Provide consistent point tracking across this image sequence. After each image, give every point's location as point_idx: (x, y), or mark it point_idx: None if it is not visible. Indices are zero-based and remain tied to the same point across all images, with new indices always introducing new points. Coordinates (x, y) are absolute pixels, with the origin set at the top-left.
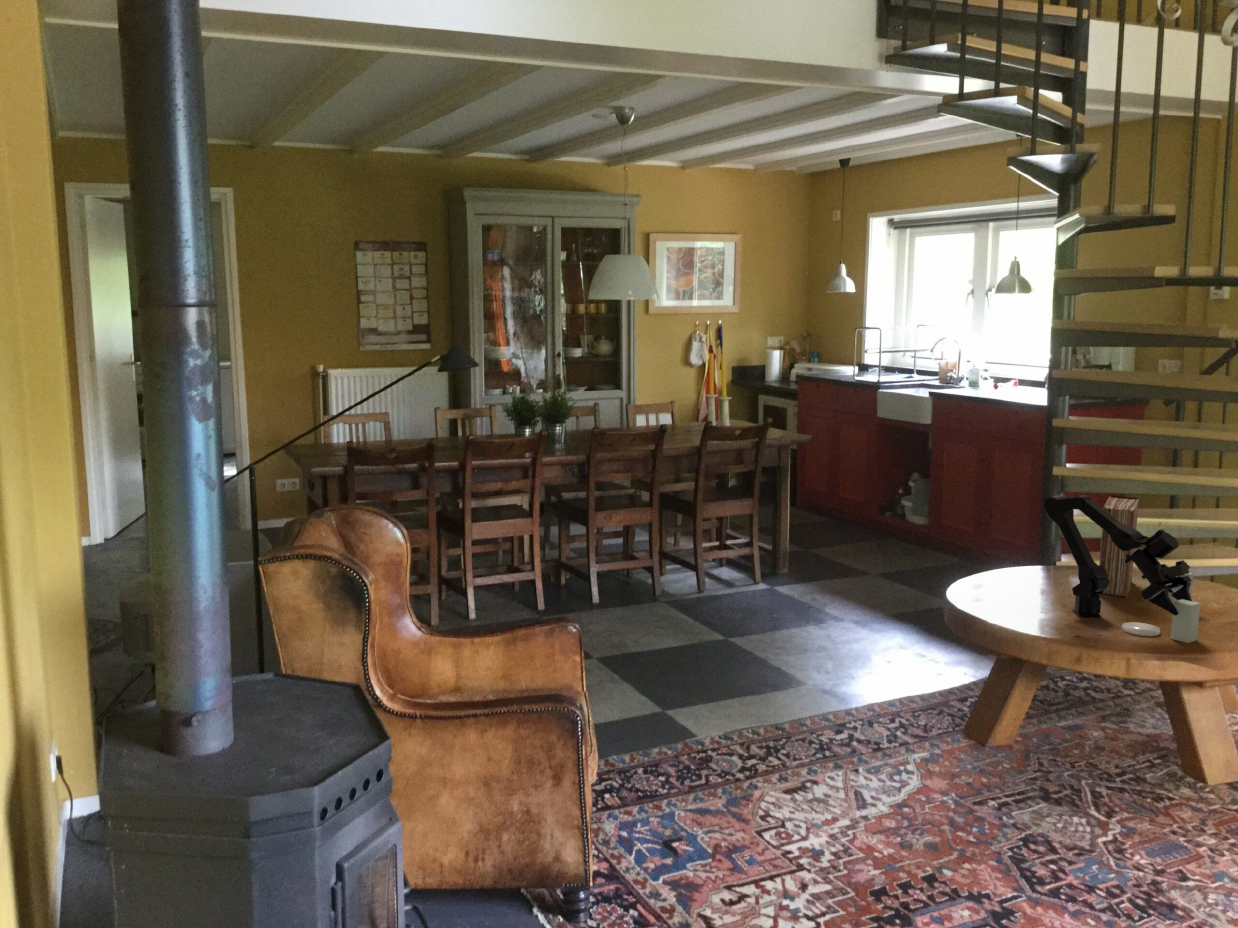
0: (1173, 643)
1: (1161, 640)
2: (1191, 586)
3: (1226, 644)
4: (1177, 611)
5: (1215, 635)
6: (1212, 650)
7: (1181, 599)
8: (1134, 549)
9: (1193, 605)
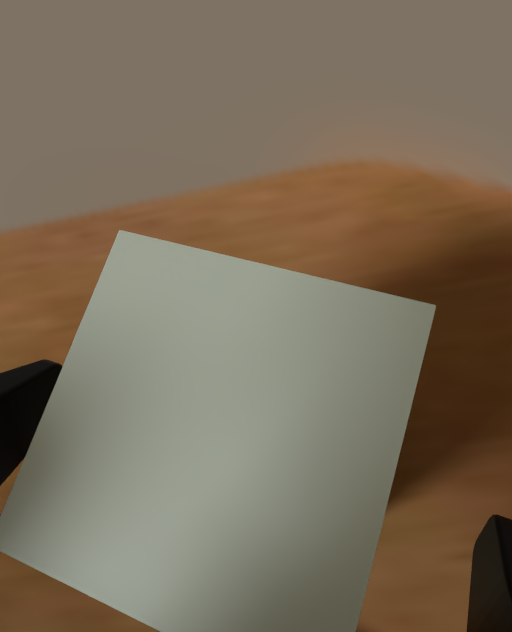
0: (486, 489)
1: (468, 597)
2: None
3: (238, 191)
4: (510, 543)
5: (70, 281)
6: (455, 222)
7: (33, 564)
8: None
9: (355, 289)
